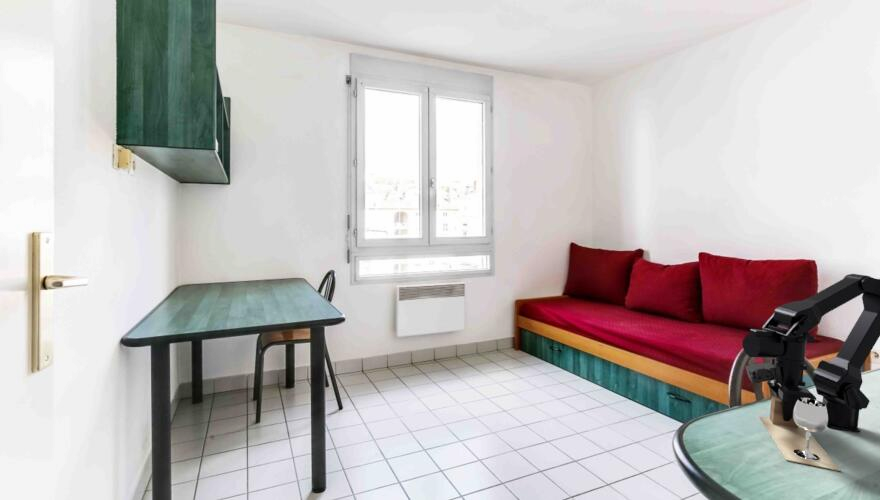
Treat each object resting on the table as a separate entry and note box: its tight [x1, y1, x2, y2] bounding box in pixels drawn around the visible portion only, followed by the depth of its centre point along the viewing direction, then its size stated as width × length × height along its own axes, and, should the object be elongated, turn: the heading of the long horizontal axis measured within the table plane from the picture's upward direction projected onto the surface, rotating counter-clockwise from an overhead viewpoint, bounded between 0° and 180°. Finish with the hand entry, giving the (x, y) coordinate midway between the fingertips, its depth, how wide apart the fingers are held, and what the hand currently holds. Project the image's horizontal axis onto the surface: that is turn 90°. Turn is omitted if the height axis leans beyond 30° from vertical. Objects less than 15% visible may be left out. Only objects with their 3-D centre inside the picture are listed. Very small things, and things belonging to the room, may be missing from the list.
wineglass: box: [793, 398, 828, 461], centre depth 94 cm, size 6×6×12 cm
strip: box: [759, 396, 842, 472], centre depth 100 cm, size 9×22×6 cm, turn 156°
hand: (783, 417), depth 109 cm, fingers closed on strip, 3 cm apart
